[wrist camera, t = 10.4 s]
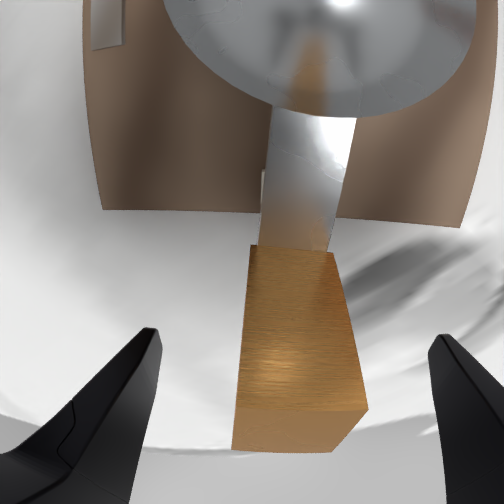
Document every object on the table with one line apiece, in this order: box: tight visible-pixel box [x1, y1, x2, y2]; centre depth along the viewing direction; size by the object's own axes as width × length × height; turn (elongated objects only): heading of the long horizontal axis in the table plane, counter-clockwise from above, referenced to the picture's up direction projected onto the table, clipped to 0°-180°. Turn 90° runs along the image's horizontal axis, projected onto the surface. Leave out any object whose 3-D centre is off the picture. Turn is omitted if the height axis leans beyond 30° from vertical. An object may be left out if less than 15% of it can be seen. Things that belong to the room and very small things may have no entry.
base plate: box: [83, 0, 498, 228], centre depth 9 cm, size 20×20×4 cm
